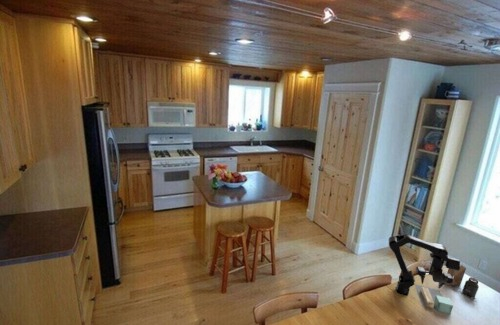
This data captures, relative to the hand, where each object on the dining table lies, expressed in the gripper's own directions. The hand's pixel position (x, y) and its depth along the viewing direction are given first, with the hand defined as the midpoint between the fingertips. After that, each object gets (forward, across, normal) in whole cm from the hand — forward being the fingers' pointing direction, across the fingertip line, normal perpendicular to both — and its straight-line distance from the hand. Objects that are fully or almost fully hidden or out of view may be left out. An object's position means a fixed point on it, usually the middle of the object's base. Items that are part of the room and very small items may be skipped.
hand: (430, 285), depth 164 cm
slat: (+10, 0, 0) cm, 10 cm away
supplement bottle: (+11, +29, +17) cm, 36 cm away
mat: (+11, +4, +3) cm, 12 cm away
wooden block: (+11, +22, +25) cm, 35 cm away
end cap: (+10, +7, -5) cm, 13 cm away
